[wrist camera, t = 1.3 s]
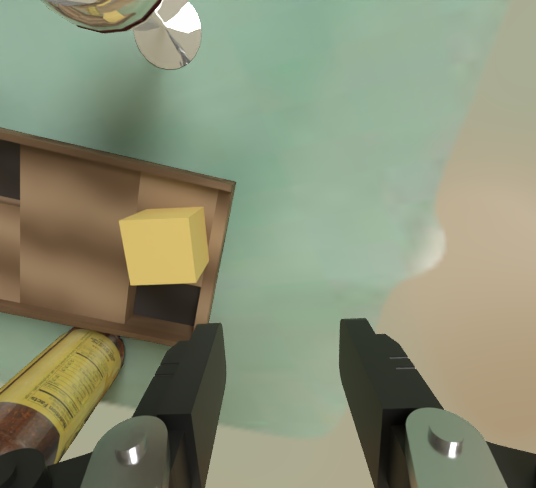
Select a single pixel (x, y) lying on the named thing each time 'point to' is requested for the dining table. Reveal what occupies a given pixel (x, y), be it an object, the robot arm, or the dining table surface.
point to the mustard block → (165, 245)
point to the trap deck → (97, 238)
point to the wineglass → (140, 25)
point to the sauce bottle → (58, 392)
